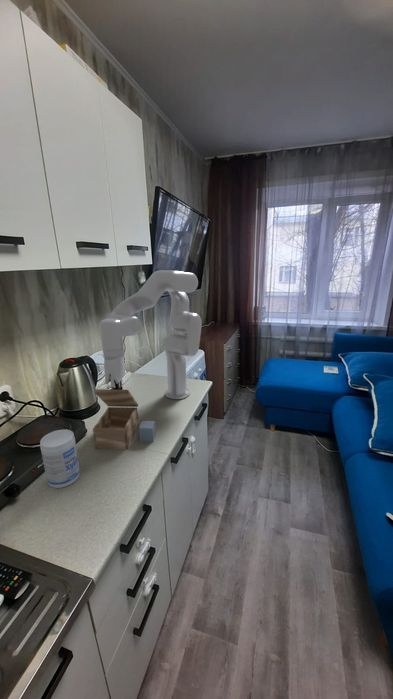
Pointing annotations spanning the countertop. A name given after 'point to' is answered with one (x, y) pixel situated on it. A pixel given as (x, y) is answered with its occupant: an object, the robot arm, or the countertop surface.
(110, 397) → the lid
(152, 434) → the block
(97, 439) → the box
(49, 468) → the supplement tub
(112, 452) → the countertop surface
